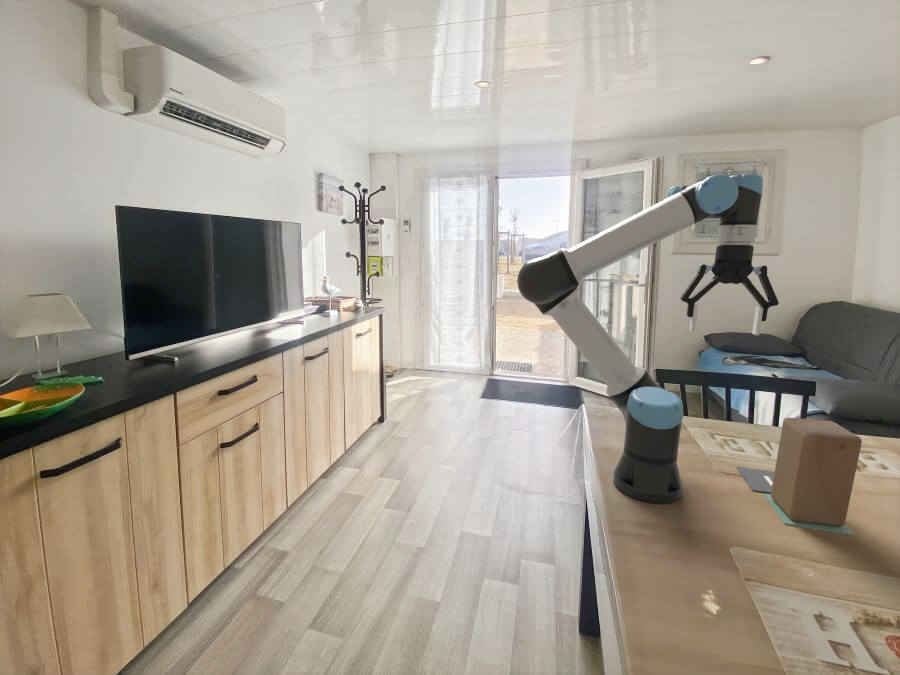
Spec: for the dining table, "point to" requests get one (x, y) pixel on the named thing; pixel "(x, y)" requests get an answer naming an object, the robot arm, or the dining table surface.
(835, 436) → the wooden block
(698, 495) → the dining table surface
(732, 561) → the dining table surface
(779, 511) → the pad
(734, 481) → the dining table surface
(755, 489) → the mat
